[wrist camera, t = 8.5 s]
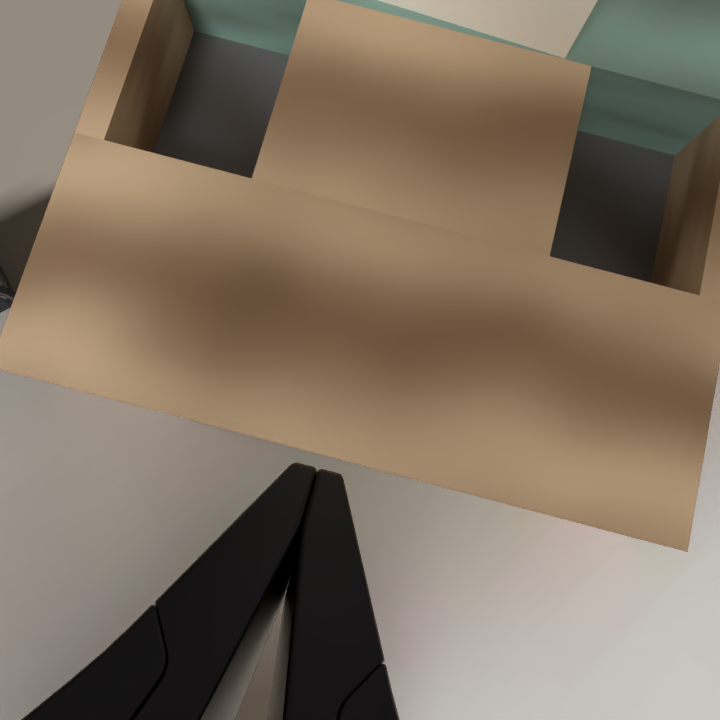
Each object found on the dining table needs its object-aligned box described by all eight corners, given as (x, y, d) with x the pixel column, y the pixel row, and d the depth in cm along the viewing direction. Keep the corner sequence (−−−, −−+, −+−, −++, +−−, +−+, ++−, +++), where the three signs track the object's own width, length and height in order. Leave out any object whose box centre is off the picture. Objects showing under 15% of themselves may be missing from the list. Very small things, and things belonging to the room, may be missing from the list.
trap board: (626, 534, 22) (687, 551, 18) (50, 381, 22) (-12, 366, 19) (726, -5, 26) (795, -88, 22) (228, -133, 26) (208, -238, 22)
